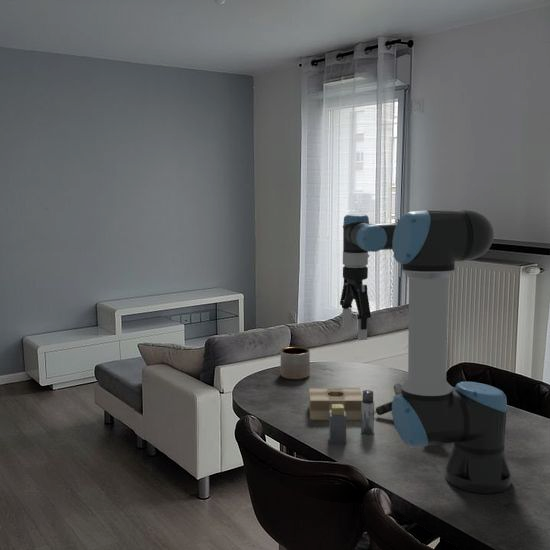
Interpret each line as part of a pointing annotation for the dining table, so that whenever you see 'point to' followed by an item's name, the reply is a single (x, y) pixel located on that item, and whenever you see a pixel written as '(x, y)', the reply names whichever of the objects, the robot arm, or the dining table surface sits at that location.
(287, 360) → the planter
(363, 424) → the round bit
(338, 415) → the square bit
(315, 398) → the bore block
